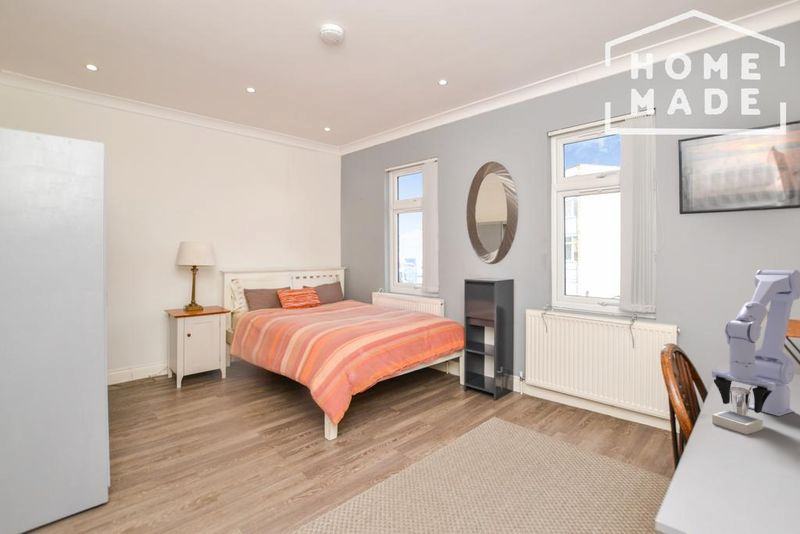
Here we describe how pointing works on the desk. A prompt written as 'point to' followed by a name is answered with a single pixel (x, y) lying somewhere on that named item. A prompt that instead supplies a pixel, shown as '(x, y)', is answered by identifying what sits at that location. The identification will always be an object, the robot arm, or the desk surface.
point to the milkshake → (740, 400)
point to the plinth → (737, 422)
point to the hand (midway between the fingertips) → (741, 407)
